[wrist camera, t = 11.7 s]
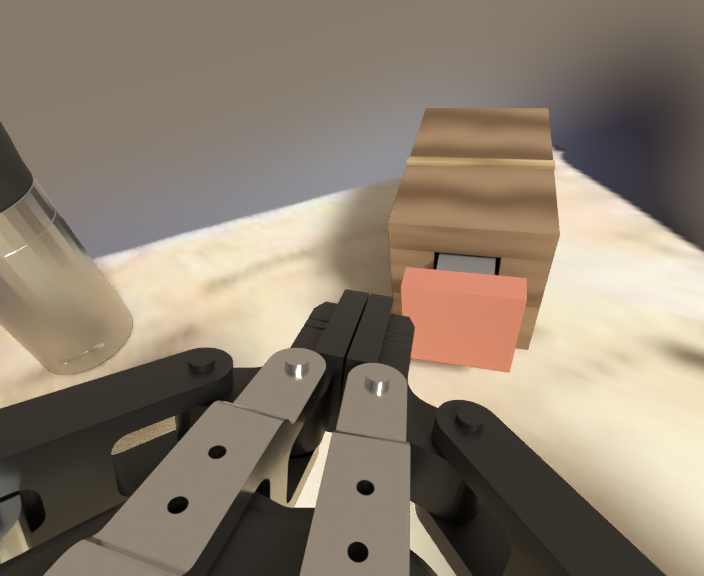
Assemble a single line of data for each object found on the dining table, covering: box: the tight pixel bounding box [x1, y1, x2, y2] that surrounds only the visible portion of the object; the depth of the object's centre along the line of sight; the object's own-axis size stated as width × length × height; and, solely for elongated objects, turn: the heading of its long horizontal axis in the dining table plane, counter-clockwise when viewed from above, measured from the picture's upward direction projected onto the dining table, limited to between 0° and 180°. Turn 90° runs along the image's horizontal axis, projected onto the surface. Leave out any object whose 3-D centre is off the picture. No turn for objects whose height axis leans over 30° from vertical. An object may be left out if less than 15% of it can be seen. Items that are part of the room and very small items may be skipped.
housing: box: [388, 108, 560, 350], centre depth 43 cm, size 20×12×13 cm, turn 165°
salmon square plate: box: [401, 253, 527, 372], centre depth 38 cm, size 20×8×8 cm, turn 165°
